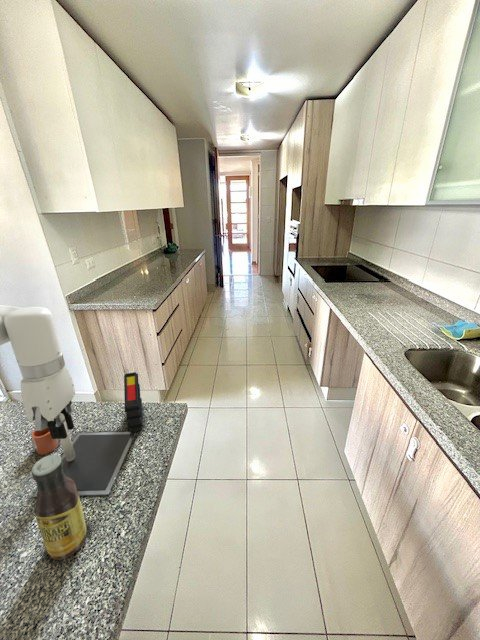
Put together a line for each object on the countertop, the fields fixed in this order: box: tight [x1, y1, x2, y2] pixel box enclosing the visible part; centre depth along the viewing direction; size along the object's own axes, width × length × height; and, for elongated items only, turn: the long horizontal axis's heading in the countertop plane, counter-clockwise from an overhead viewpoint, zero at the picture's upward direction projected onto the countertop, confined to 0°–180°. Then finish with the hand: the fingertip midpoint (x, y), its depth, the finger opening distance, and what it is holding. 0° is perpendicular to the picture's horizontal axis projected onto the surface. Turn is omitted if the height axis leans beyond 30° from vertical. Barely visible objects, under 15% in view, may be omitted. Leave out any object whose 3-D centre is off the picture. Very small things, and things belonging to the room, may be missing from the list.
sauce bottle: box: [31, 454, 87, 561], centre depth 45 cm, size 7×6×20 cm
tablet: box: [32, 431, 137, 498], centre depth 64 cm, size 16×18×1 cm
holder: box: [31, 428, 59, 455], centre depth 67 cm, size 5×5×6 cm
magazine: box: [123, 371, 144, 432], centre depth 76 cm, size 4×13×15 cm, turn 21°
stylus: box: [59, 413, 75, 461], centre depth 62 cm, size 2×2×14 cm
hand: (63, 432), depth 61 cm, fingers closed on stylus, 2 cm apart
